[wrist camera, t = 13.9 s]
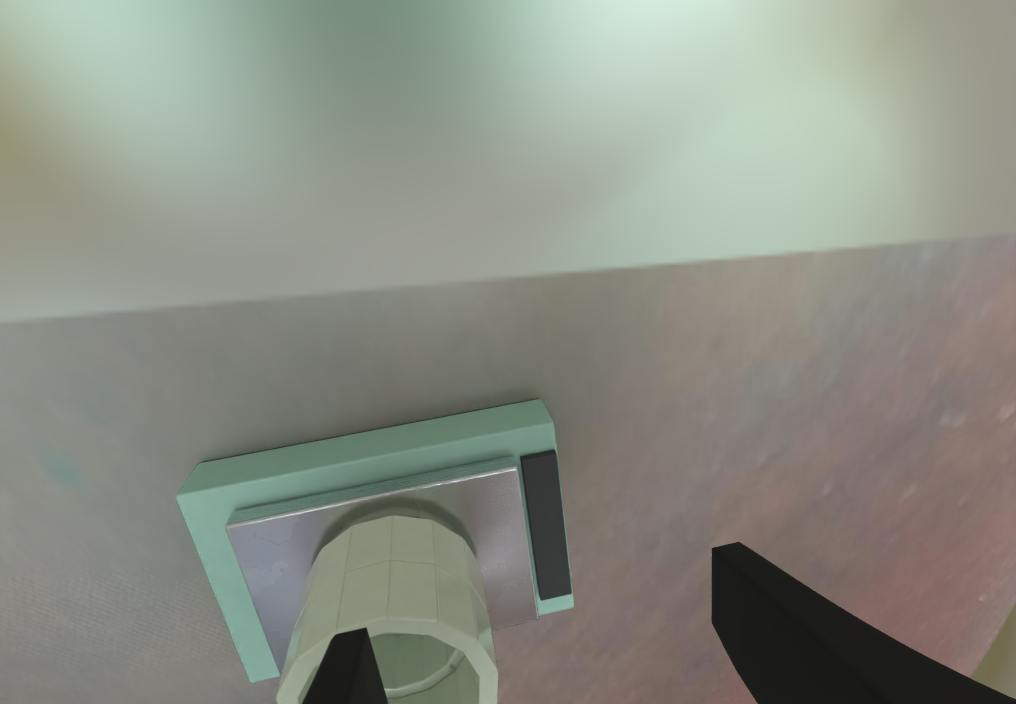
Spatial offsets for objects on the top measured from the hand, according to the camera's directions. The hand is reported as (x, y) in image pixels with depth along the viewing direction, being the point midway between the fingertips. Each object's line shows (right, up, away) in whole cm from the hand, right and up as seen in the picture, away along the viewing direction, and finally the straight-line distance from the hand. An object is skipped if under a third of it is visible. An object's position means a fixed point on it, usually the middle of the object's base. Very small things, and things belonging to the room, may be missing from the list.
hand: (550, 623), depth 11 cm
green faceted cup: (-5, -2, +7) cm, 8 cm away
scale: (-5, -1, +10) cm, 11 cm away
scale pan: (-5, -2, +8) cm, 9 cm away
